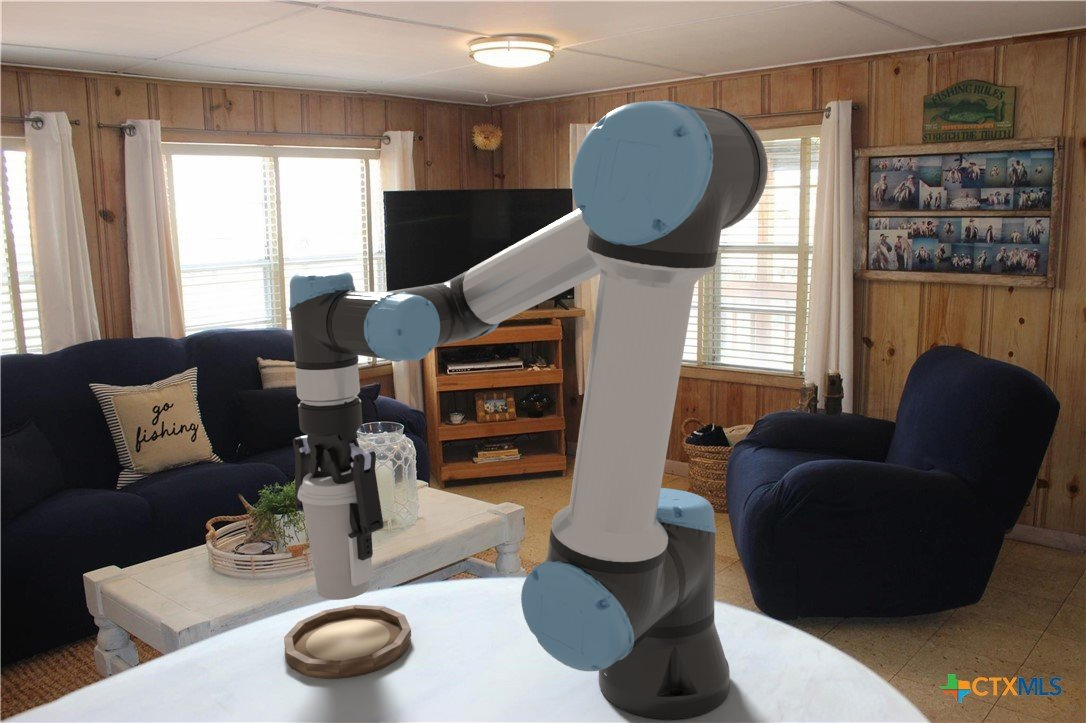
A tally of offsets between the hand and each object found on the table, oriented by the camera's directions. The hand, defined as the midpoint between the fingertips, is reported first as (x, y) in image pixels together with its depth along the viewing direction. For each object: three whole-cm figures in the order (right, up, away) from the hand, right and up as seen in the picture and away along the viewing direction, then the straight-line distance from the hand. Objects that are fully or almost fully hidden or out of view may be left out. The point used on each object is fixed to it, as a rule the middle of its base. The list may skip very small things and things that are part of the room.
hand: (341, 573), depth 114 cm
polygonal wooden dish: (0, -10, +2) cm, 10 cm away
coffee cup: (0, -2, 0) cm, 2 cm away
